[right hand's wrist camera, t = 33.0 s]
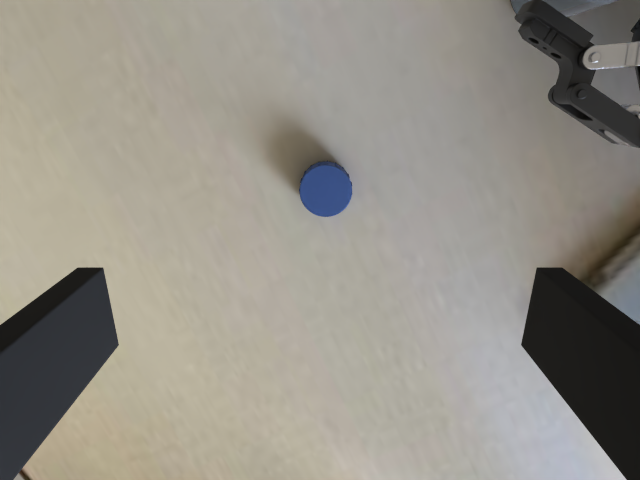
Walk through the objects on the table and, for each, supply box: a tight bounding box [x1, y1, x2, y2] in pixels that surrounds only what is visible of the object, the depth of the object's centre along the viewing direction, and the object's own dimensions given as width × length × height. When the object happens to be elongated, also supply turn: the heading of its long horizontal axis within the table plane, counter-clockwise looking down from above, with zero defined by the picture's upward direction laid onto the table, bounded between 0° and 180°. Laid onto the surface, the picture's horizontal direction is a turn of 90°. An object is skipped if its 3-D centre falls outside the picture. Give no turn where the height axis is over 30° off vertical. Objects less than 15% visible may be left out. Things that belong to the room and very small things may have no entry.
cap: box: [299, 161, 352, 217], centre depth 31 cm, size 4×4×2 cm
